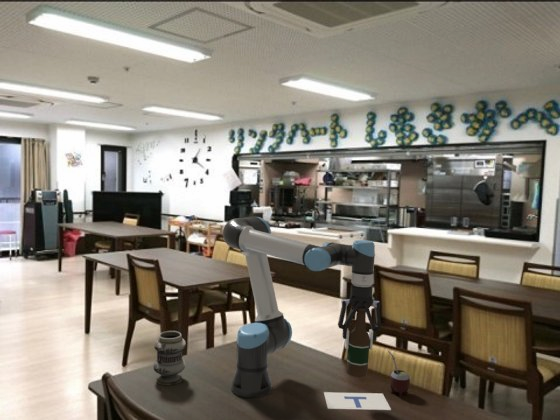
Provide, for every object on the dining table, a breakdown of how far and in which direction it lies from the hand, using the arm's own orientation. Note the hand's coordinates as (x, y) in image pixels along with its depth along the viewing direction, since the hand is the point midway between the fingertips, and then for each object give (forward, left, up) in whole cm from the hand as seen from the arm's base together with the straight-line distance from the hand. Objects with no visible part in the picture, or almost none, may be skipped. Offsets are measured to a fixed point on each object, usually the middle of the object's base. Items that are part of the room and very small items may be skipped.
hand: (358, 347), depth 161 cm
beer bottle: (0, 0, -9) cm, 9 cm away
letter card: (0, +1, -20) cm, 20 cm away
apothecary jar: (-70, +15, -20) cm, 74 cm away
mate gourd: (+17, +8, -20) cm, 28 cm away
